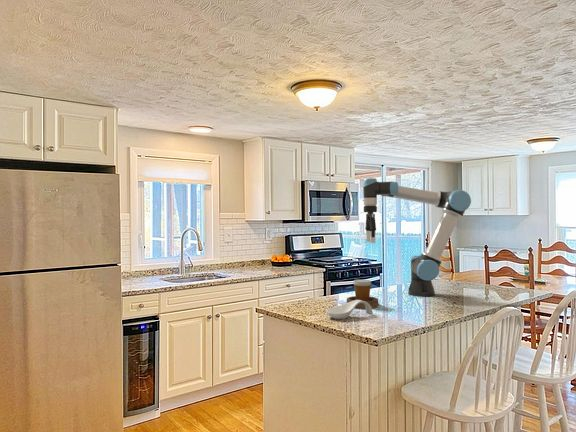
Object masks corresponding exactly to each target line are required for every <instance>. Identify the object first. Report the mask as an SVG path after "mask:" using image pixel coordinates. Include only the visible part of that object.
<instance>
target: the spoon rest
mask: <svg viewBox="0 0 576 432" xmlns="http://www.w3.org/2000/svg"><path fill="white" fill-rule="evenodd" d="M359 303H363V304H364V305H365V307H366V309H365V314H367V315H368V314H369V315H373V314H374V313H373V308H371V306H370V305H369V304H368V303H367V302H365V301H362V300H354V301H351V302H348V303H347V302H346V303H343V304H340V305H337V306H334V307H329V308H327V309H326V311H325V312H326V315H328V316H329V317H330V318H332V319H334V320H345V319H347V318H348V317H349V316H350V315H351V314H352V313H353V311H354V310H355V309H356V308H355V307H356V305H357V304H359Z"/></svg>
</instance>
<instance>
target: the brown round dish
mask: <svg viewBox="0 0 576 432" xmlns="http://www.w3.org/2000/svg"><path fill="white" fill-rule="evenodd" d="M354 300H356V296H349V297H347V298H346V303H348V302H351V301H354ZM365 302H367V303H368V304H369V305H370V306H371V308H372V309H376V308H379V307H380V303H379V298H378V297H376V296H375V297H374V296H369V301H365ZM354 309H360V310H364V309H365V310H366V307H365V305H364V304H363V303H359V304H357V305H356V307H355V308H354Z"/></svg>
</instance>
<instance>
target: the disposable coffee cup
mask: <svg viewBox="0 0 576 432" xmlns="http://www.w3.org/2000/svg"><path fill="white" fill-rule="evenodd" d="M352 284H353V286H354V294H355V296H356V300H362V301H369V296H370V294H371V287H372V282H371V280H370V279H354V280H353V283H352ZM370 297H371V296H370Z"/></svg>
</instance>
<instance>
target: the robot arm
mask: <svg viewBox="0 0 576 432" xmlns="http://www.w3.org/2000/svg"><path fill="white" fill-rule="evenodd" d="M362 191H363V199H362V202H363V212H364V213H366V214H365V228H364V230H365V242H366V243H370V244H376V231H377V226H376V214H375V213H377V212H378V206H377V205H378V196H381V197H387V198H388V197H389V198H394V199H399V200H406V201H411V202H416V203H421V204H422V203H423V204H427V205H433V206H434V207H436V208H440V209H441V210H442V215H441V217H440V219H439V221H438V224H437V226H436V228H435V230H434V232H433V234H432V237H431V239H430V241H429V243H428V245H427V248H426V250H425V251H423V252H421V254H420V255H419V254H418V255H412V256H411V257H410V278H411V279H410V280H411V281H410V283H409V287H408V290H407V292H408V294H407V295H410V296H414V295H415V297H432V295H433V296H435V295H436V291H435V287H434V285H433V282H432V281H433V280H435V279H437V277H438V276H439V273H440V266H441V264H442V262H443V260H442V258H441V257H442V255H443V253H444V251H445V248H446V247H447V244H448V242H449V240H450V237H451V235H452V233H453V231H454V229H455V227H456V224H457V222H458V220H459V219H460V218H463V216H464V214H465V212H466V210H468V209H469V208H470V206H471V205H472V204H471V203H472V198H471V195H470V194H469V193H468V192H467V191H465V190H463V189H454V190H452V191H441V190H439V191H431V190H425V189H420V188H413V187H407V186H403V185H399V183H398V182H397V181H378V180H377V178H376V177H375V178H373V177H370V178H364V179H363V190H362Z"/></svg>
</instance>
